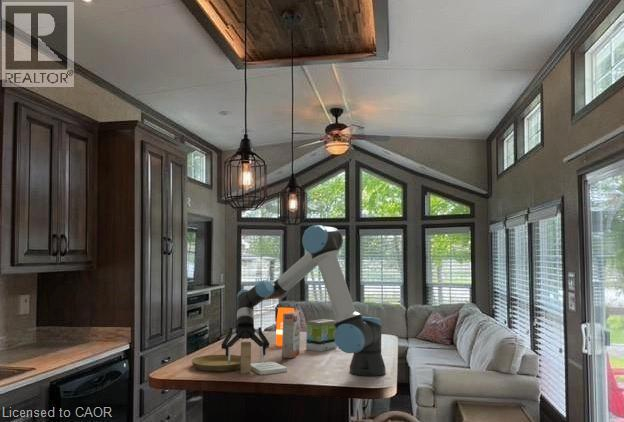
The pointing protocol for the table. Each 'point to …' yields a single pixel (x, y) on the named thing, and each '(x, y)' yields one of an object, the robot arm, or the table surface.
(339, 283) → the robot arm
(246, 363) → the block
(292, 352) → the cracker box
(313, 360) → the table surface
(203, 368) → the plant saucer
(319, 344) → the tea box
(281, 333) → the orange juice
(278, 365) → the board
